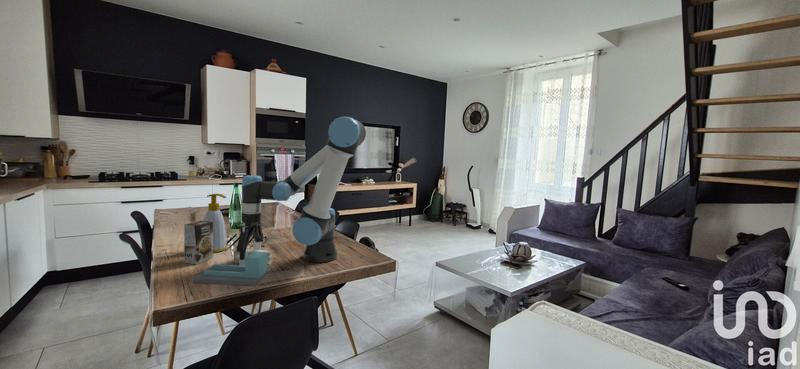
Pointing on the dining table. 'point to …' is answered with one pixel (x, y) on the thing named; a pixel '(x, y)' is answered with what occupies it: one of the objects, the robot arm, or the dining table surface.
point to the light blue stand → (237, 271)
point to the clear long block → (269, 253)
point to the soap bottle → (216, 224)
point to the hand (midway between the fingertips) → (250, 261)
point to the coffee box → (198, 242)
